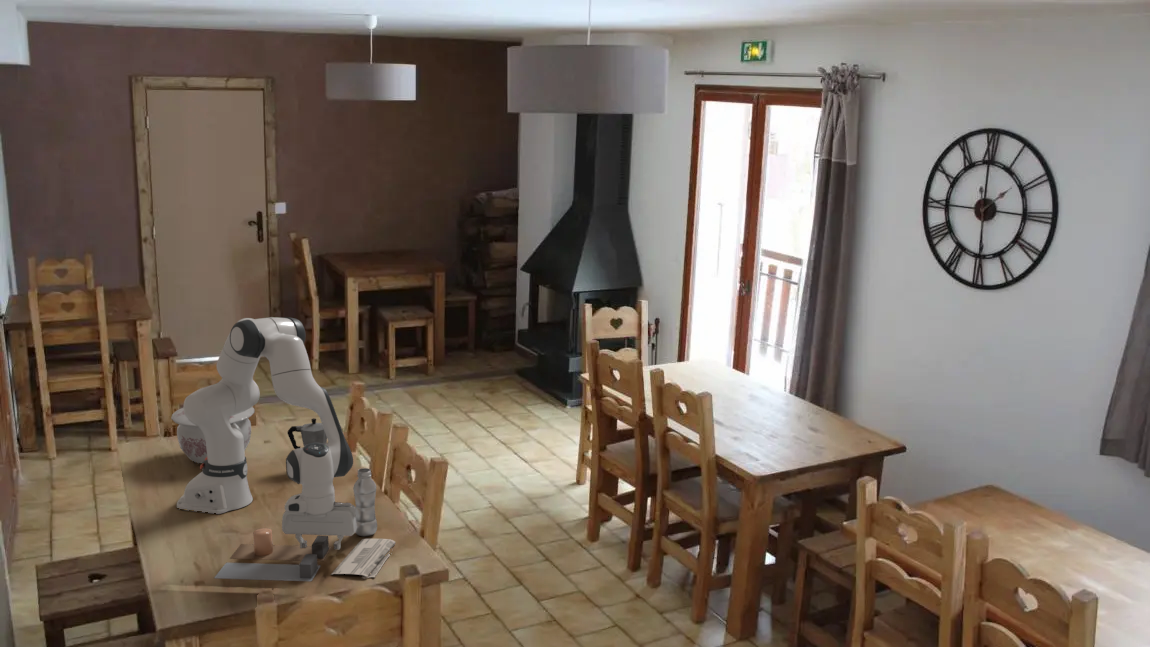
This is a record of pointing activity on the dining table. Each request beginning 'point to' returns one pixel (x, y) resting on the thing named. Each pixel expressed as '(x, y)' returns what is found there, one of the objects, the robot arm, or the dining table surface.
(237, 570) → the grey strip
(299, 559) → the walnut strip
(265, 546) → the canister
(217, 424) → the robot arm
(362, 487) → the plastic bottle
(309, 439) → the coffeepot
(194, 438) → the chamber pot
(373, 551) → the newspaper
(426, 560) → the dining table surface
